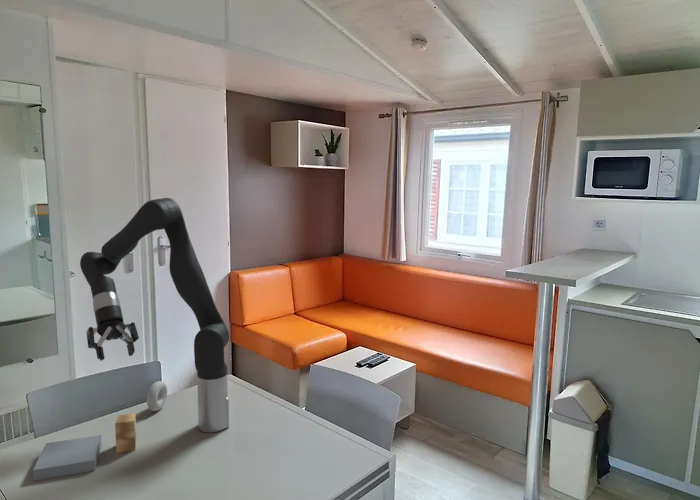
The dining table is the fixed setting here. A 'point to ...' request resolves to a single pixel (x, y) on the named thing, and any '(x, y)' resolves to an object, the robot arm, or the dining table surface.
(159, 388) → the donut
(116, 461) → the dining table surface
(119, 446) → the block
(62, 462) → the plinth
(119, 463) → the dining table surface
